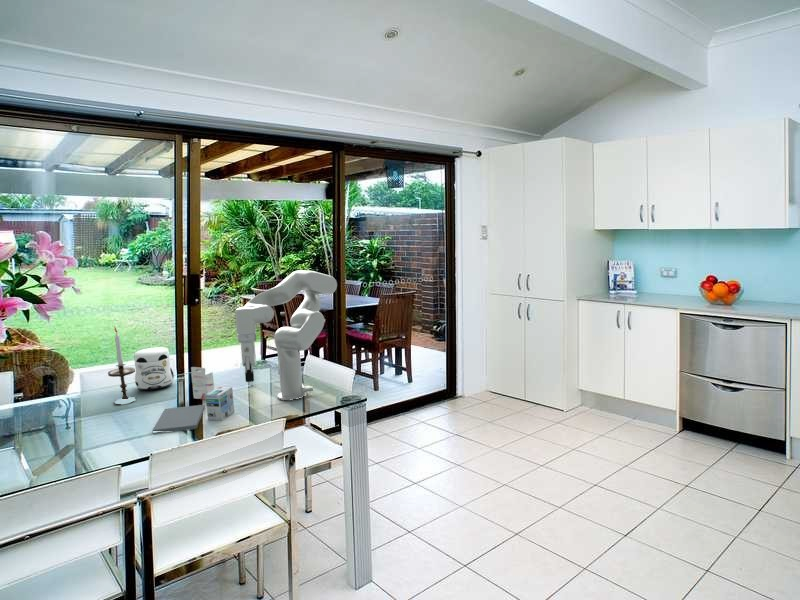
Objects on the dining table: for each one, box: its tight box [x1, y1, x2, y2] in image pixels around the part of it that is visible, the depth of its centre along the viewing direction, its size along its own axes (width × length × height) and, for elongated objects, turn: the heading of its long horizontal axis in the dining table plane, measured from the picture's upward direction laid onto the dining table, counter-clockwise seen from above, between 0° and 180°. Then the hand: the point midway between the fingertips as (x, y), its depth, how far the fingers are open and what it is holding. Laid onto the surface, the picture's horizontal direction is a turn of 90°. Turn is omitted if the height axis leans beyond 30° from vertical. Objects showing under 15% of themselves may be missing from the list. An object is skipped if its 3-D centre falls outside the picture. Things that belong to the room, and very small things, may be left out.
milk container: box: [133, 347, 175, 391], centre depth 274 cm, size 17×17×18 cm
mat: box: [152, 404, 206, 432], centre depth 229 cm, size 16×24×2 cm, turn 11°
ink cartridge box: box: [190, 366, 215, 400], centre depth 255 cm, size 9×5×15 cm, turn 68°
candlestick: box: [107, 325, 136, 399], centre depth 252 cm, size 11×11×35 cm
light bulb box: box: [205, 386, 235, 421], centre depth 231 cm, size 11×7×11 cm, turn 168°
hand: (249, 381), depth 232 cm, fingers closed
